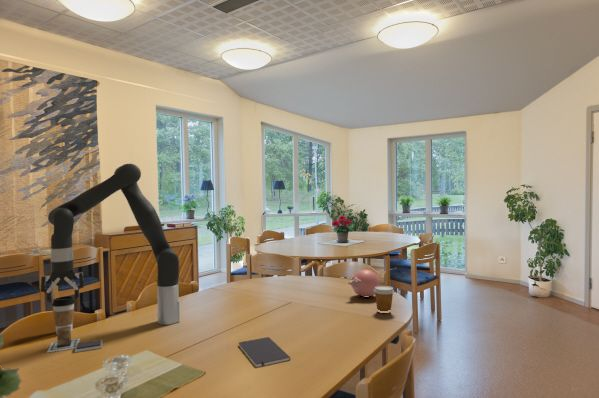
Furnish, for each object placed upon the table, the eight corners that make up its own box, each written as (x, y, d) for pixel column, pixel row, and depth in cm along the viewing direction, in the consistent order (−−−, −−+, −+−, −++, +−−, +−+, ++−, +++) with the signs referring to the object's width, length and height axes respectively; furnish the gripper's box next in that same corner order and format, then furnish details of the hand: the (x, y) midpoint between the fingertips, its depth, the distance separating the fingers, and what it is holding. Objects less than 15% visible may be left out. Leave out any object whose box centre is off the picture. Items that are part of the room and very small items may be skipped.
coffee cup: (49, 336, 159) (48, 301, 159) (56, 329, 168) (55, 295, 167) (72, 334, 162) (71, 299, 161) (78, 327, 170) (77, 294, 170)
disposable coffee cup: (392, 309, 192) (392, 285, 191) (395, 315, 182) (395, 290, 182) (373, 309, 193) (373, 285, 192) (375, 315, 183) (374, 290, 183)
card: (80, 339, 157) (80, 338, 157) (77, 348, 148) (77, 347, 148) (51, 343, 152) (51, 342, 152) (46, 352, 143) (46, 351, 143)
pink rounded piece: (339, 297, 215) (339, 269, 215) (367, 292, 225) (367, 266, 224) (356, 303, 202) (356, 274, 201) (385, 298, 211) (385, 270, 211)
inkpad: (102, 342, 153) (102, 338, 153) (101, 348, 147) (101, 344, 147) (76, 346, 149) (76, 342, 149) (74, 352, 144) (74, 348, 144)
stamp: (71, 341, 153) (71, 326, 153) (70, 345, 149) (69, 329, 149) (58, 343, 151) (58, 327, 151) (56, 348, 147) (56, 331, 147)
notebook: (290, 361, 135) (268, 340, 154) (290, 357, 135) (268, 336, 154) (256, 369, 130) (238, 346, 149) (256, 364, 130) (238, 342, 149)
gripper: (84, 256, 156) (85, 296, 156) (42, 259, 150) (43, 300, 150) (82, 259, 149) (83, 300, 149) (38, 262, 143) (39, 305, 143)
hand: (63, 300), depth 150 cm, fingers open, 8 cm apart
